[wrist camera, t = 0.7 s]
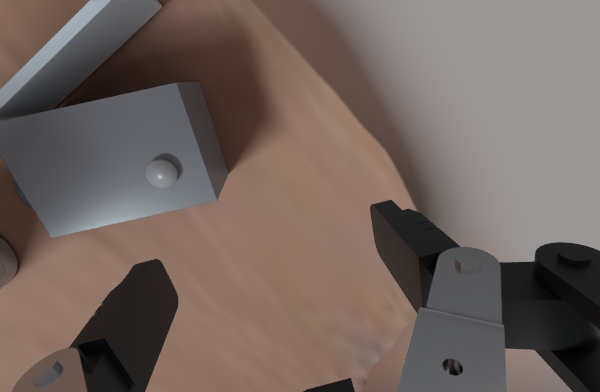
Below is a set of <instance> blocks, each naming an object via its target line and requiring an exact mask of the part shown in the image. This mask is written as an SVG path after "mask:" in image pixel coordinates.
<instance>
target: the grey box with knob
mask: <svg viewBox="0 0 600 392" xmlns="http://www.w3.org/2000/svg"><path fill="white" fill-rule="evenodd" d="M0 157H1V158H2V160H3V161H4V163H5V165H6V166H7V168H8V169H9V171H10V173H11V174H12V176H13V183H14V187H15V190H16V192H17V194H18V196H19V197H20V199H21V200H22V201H23V202H24V203H25V204H26V205H27V206H28V207H30V208H31V209H33V210H34V211H35V212H36V214H37V216H38V217H39V219H40V220H41V222H42V224H43V225H44V227H45V228H46V230H47V232H48V233H49V235H50V236H51V238H53V237H57V236H62V235H66V234H71V233H75V232H79V231H84V230H88V229H93V228H97V227H102V226H106V225H111V224H115V223H119V222H124V221H128V220H133V219H137V218H142V217H146V216H150V215H155V214H159V213H164V212H168V211H173V210H177V209H181V208H186V207H190V206H195V205H199V204H204V203H208V202H213V201H217V199H218V197H219V195H220V192H221V190H222V188H223V186H224V183H225V181H226V179H227V176H228V174H229V172H228V169H227V166H226V163H225V160H224V157H223V153H222V150H221V147H220V144H219V141H218V138H217V134H216V131H215V128H214V125H213V122H212V119H211V115H210V112H209V109H208V106H207V103H206V100H205V96H204V93H203V90H202V87H201V84H200V82H178V83H172V84H167V85H163V86H158V87H154V88H149V89H145V90H140V91H136V92H131V93H127V94H122V95H118V96H113V97H109V98H104V99H99V100H95V101H90V102H86V103H81V104H77V105H72V106H68V107H63V108H59V109H54V110H50V111H45V112H41V113H36V114H32V115H27V116H22V117H18V118H13V119H9V120H4V121H0Z"/></svg>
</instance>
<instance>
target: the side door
mask: <svg viewBox="0 0 600 392" xmlns="http://www.w3.org/2000/svg"><path fill="white" fill-rule="evenodd" d="M161 8H162V5H161V4H160V3H159V2H158V0H90V1H89V2H88V3H87V4H86V5H85V6H84V7H83V8H82V9H81V10H80V11H79V12H78V13H77V14H76V15H75V16H74V17H73V18H72V19H71V20H70V21H69V22H68V23H67V24H66V25H65V26H64V27H63V28H62V29H61V30H60V31H59V32H58V33H57V34H56V35H55V36H54V37H53V38H52V39H51V40H50V41H49V42H48V43H47V44H46V45H45V46H44V47H43V48H42V49H41V50H40V51H39V52H38V53H37V54H36V55H35V56H34V57H33V58H32V59H31V60H30V61H29V62H28V63H27V64H26V65H25V66H24V67H23V68H21V69H20V70H19V71H18V72H17V73H16V74H15V75H14V76H13V77H12V78H11V79H10V80H9V81H8V82H7V83H6V84H5V85H4V86H3V87H2V88H1V89H0V121H4V120H9V119H13V118H18V117H22V116H27V115H32V114H36V113H41V112H45V111H50V110H53V109H54V108H55V107H57V106H58V105H59V104H60V103H61V102H62V101H63V100H64V99H65V98H66V97H67V96H68V95H69V94H70V93H71V92H73V91H74V90H75V89H76V88H77V87H78V86H79V85H80V84H81V83H82V82H83V81H84V80H85V79H86V78H87V77H89V76H90V75H91V74H92V73H93V72H94V71H95V70H96V69H97V68H98V67H99V66H100V65H101V64H102V63H103V62H105V61H106V60H107V59H108V58H109V57H110V56H111V55H112V54H113V53H114V52H115V51H116V50H117V49H118V48H120V47H121V46H122V45H123V44H124V43H125V42H126V41H127V40H128V39H129V38H130V37H131V36H132V35H133V34H134V33H136V32H137V31H138V30H139V29H140V28H141V27H142V26H143V25H144V24H145V23H146V22H147V21H148V20H149V19H150V18H152V17H153V16H154V15H155V14H156V13H157V12H158V11H159V10H160V9H161Z"/></svg>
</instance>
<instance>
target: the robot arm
mask: <svg viewBox="0 0 600 392" xmlns="http://www.w3.org/2000/svg"><path fill="white" fill-rule="evenodd" d="M370 212H371V219H372V226H373V233H374V239H375V244H376V248H377V251H378V253H379V255H380V257H381V259H382V260H383V262H384V263H385V265H386V266H387V268H388V269H389V271H390V273H391V274H392V276H393V277H394V279H395V280H396V282H397V283H398V285H399V286H400V288H401V289H402V291H403V292H404V294H405V295H406V297H407V299H408V300H409V302H410V303H411V305H412V306H413V308H414V309H415V311H416V312H417V318H416V322H415V325H414V329H413V333H412V337H411V341H410V344H409V348H408V352H407V356H406V359H405V363H404V367H403V371H402V375H401V378H400V382H399V386H398V390H397V392H506V365H505V364H506V363H505V348H510V349H532V350H535V351H536V352H537V353H538V354H539V355H540V356H541V357H542V358H543V359H544V360H545V362H546V363H547V364H548V365H549V366H550V367H551V368H552V369H553V370H554V372H555V373H556V374H557V375H558V376H559V377H560V378H561V379H562V380H563V381H564V382H565V383H566V385H567V386H568V387H569V388H570V389H571V390H572V391H573V392H600V251H599V250H596V249H594V248H591V247H588V246H584V245H580V244H574V243H562V242H558V243H550V244H545V245H543V246H540V247H539V248H538V249H537V250H536V253H535V261H534V262H510V263H502V262H499V261H498V260H497V259H496V258H495V257H494V256H492V255H491V254H489V253H488V252H485V251H483V250H480V249H476V248H470V247H460V246H459V245H458V244H457V243H455V242H454V241H453V240H452V239H451V238H450V237H448V236H447V235H446V234H445V233H444V232H443V231H441V230H440V229H439V228H437V227H436V226H435V225H434V224H433V223H432V222H430V221H429V220H428V219H427V218H426V217H425V216H423V215H422V214H421V213H419V212H416V211H413V210H411V209H406V210H401V209H400V208H399V207H398V206H397V205H396V204H395V203H394V202H393V201H392V200H388V201H384V202H380V203H376V204H372V205H371V206H370ZM16 271H17V259H16V256H15V254H14V252H13V250H12V248H11V247H10V246H9V245H8V244H7V242H6V241H5V240H3V239H2V238H1V237H0V289H1V288H2V287H3V286H4V285H6V284H7V283H8V282H10V281H11V280H12V279H13V277H14V276H15V275H16ZM177 308H178V296H177V292H176V290H175V288H174V286H173V284H172V282H171V280H170V278H169V276H168V274H167V272H166V270H165V268H164V266H163V264H162V262H161V261H160V260H158V259H154V260H150V261H146V262H143V263H139V264H135V265H134V266H133V267H132V269H131V270H130V272H129V273H128V274H127V276H126V277H125V279H124V280H123V281H122V282H121V283H120V284H119V285H118V286H117V287H116V288H114V289H113V290H112V291H111V292H110V293H109V294H108V296H107V297H106V298H105V300H104V301H103V302H102V306H99V308H98V309H97V310H96V312H95V313H94V316H92V317H91V319H90V320H89V321H88V323H87V324H86V325H85V327H84V328H83V329H82V331H81V332H80V333H79V335H78V336H77V337H76V339H75V340H74V341H73V343H72V344H71V345H70V347H69V348H65V349H62V350H59V351H56V352H54V353H52V354H50V355H49V356H47V357H45V358H44V359H42V360H41V361H39V362H38V363H36V364H35V365H34V366H33V367H31V368H30V369H29V370H28V371H27V372H26V373H25V374H24V375H23V376H22V377H21V378H20V379H19V381H18V382H17V383H16V385H15V386H14V388H13V390H12V392H145V390H146V388H147V385H148V383H149V380H150V377H151V375H152V372H153V370H154V367H155V365H156V362H157V359H158V357H159V354H160V352H161V349H162V347H163V344H164V342H165V339H166V336H167V334H168V331H169V329H170V326H171V324H172V321H173V319H174V316H175V313H176V311H177ZM304 392H355V391H354V387H353V384H352V380H351V378H349V379H345V380H341V381H338V382H334V383H330V384H326V385H322V386H319V387H315V388H311V389H307V390H305V391H304Z"/></svg>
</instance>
